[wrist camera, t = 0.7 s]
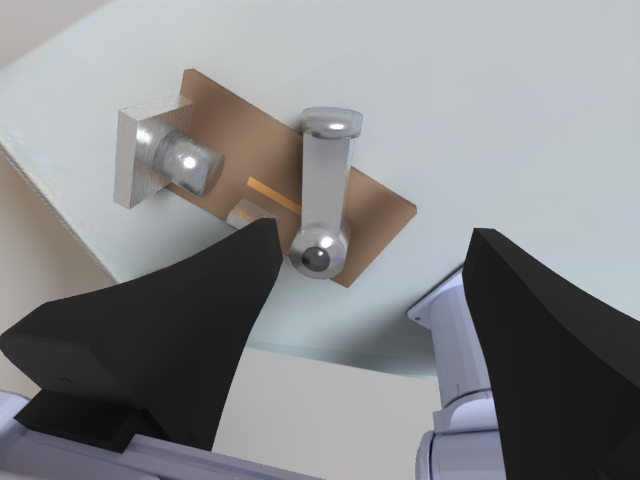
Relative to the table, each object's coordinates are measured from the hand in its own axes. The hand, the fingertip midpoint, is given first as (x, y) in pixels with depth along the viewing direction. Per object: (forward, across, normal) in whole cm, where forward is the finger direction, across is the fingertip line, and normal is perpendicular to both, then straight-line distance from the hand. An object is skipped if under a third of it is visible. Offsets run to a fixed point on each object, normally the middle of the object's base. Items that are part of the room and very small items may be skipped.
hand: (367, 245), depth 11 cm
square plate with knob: (+9, +10, 0) cm, 13 cm away
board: (+10, +7, +3) cm, 12 cm away
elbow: (+9, +3, +2) cm, 9 cm away
